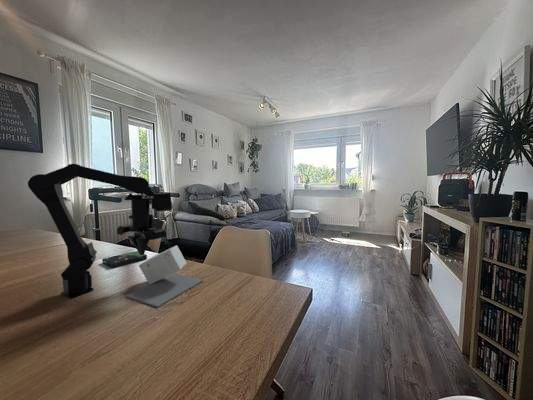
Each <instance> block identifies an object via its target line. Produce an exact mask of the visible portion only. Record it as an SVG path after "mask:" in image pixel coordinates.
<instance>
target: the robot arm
mask: <svg viewBox="0 0 533 400" xmlns="http://www.w3.org/2000/svg"><path fill="white" fill-rule="evenodd" d="M76 178H80V179H86V180H91V181H95V182H99V183H104V184H108V185H109V184H110V185H114V186H117V187H120V188H122V189H125V190H127V191H130V192H129V194H128V195H127V196H126V197H125V198H124V200H125V201H130V202H131V203H130V205H131V206H130V207H131V208H130V209H131V210H130V211H131V215H128V219H131V223H129V224H124V225H119V226H118V227H117V229H116V234H117V235H121V236H123V235H124V234H125V233H129V236H127V238H128V239H129V240H130V242H131V243H132V245H133V246H134V247H135V249H136V251H138V252H139V254H140V255H144V254H146V250H147V247H148V244H149V242H150V240H152V241H153V240H158V239H162V238H166V237H167V230H166V229H165V228H163V226H164V222H165V221H164V220H162V219H156V218H154V216H153V214H151V213H150V212H151V211H150V204H151V210H154V212H157V213H158V212H172V210H173V202H172V195H171V193H170V192H165V193H155V191H154V190H152V189H151V188H150V183H149V181H148V180H147V179H146V178H144V177H142V176H133V175H132V176H131V175H120V174H116V173H111V172H109V171H103V170H99V169H95V168H90V167H87V166H82V165H80V164H79V163H69V164H67V165H66V166H63V167H61V168H59V169H55V170H53V171H50V172H48V173H46V174H42V173H41V174H40V173H38V174H35V175H32V176H31V177H30V178H29V180H28V181H27V186H28V188H29V190H30V191H31V192H32V193H33V194H34V196H35V197H36V199H38V200H39V201H40V202H41V203H42V204H43V205H44V206H45V207H46V209H47V211H48V214H49V215H50V216H51V218H52V220H53V223H54V225H55V227H56V228H57V230H58V232H59V234H60V236H61V238H62V240H63V242H64V244H65V246H66V251H67V260H68V265H67V267H66V268H65V269H64V270H63V271H62V272H61V273H60V276H61V278H62V288H63V289H62V290H63V291H61V292H60V295H62V296H64V297H67V298H69V299H73V298H76V297H78V296H81V295H84V294H87V293H89V292H92V291H94V288H93V282H92V280H93V279H92V274H91V271H90V270H89V269H91V268H92V266H93V264H94V263H95V260H96V258H97V255H96V254H98V251H97V250H96V249H95V248H94V244H93V242H89V243H87V242H86V241H84V240H83V238H82V235H81V234H80V231H79V230H78V227H77V226H76V224H75V223H76V222H75V221H74V219H73V217H72V216H71V214H70V213H71V212H70V211H69V209H68V207H67V204H65V203H66V202H65V201H64V190H63V188H62V185H65V184H66V183H68V182H70V181H72V180H74V179H76ZM133 193H135V194H133ZM143 195H145V196H146V197H143ZM150 201H151V203H150Z"/></svg>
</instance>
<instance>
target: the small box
mask: <svg viewBox="0 0 533 400" xmlns="http://www.w3.org/2000/svg"><path fill="white" fill-rule="evenodd" d="M186 265H187V261H186V259H185V258H184V256H183V253H182V251H181V250H180V248H179V246H178V245H174V246H172V247H170V248H168V249H166V250H165V251H162V252H160V253H157V254H156V255H154V256H152V257H150V258H147V260H144V261H142V262H141V263H140V264H138V267H139V269H140V271H141V273H142V274H143V276H144V278H145V279H146V281H147V283H148V285H150V284H152V283H155V282H157V281H159V280H161V279H163V278H165V277H168V276H170V275H172V274H174V273H177V272H178V271H181V269H182V268H183V267H184V266H186Z"/></svg>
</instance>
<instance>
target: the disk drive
mask: <svg viewBox="0 0 533 400" xmlns="http://www.w3.org/2000/svg"><path fill="white" fill-rule="evenodd" d="M146 259H147V260H148V255H147V254H146V253H144V255H140V254H139V252H138V251H137V250H136V251H130V252H126V253H122V254H117V255H113V256H108V257H104V258H102V260H101V261H102V264H103V265H104V266H107V267H108V268H109V269H116V268H117V269H118V268H120V267H124V266H127V265H131V263H132V264H134V263H138V262H144V261H146Z"/></svg>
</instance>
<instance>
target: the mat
mask: <svg viewBox="0 0 533 400" xmlns="http://www.w3.org/2000/svg"><path fill="white" fill-rule="evenodd" d="M202 281H203V282H204V279H200V278H196V277H191V276H187V275H183V274H179V273H177V272H174V273H172V274H170V275H168V276H166V277H164V278H162V279H160V280H158V281H156V282H154V283H152V284H148V285H147V286H143V287H142V288H140V289H138V290H135V291H133V292H132V293H129V294H125V295H126V298H128V299H131V300H133V301H136V302H139V303H142V304H146V305H149V306H151V307H154V308H157V309H158V308H160V307H162V306H163V305H165V304H167V303H168V302H170V301H172V300H174V299H176V298H177V297H179V296H180V295H182V294H184V293H185V291H186V292H187V291H189V290H191V289H192V288H194V287H195V285H196V286H198V285H199V284H201V283H203V282H202ZM200 282H201V283H200ZM197 284H198V285H197ZM190 288H191V289H190Z"/></svg>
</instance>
